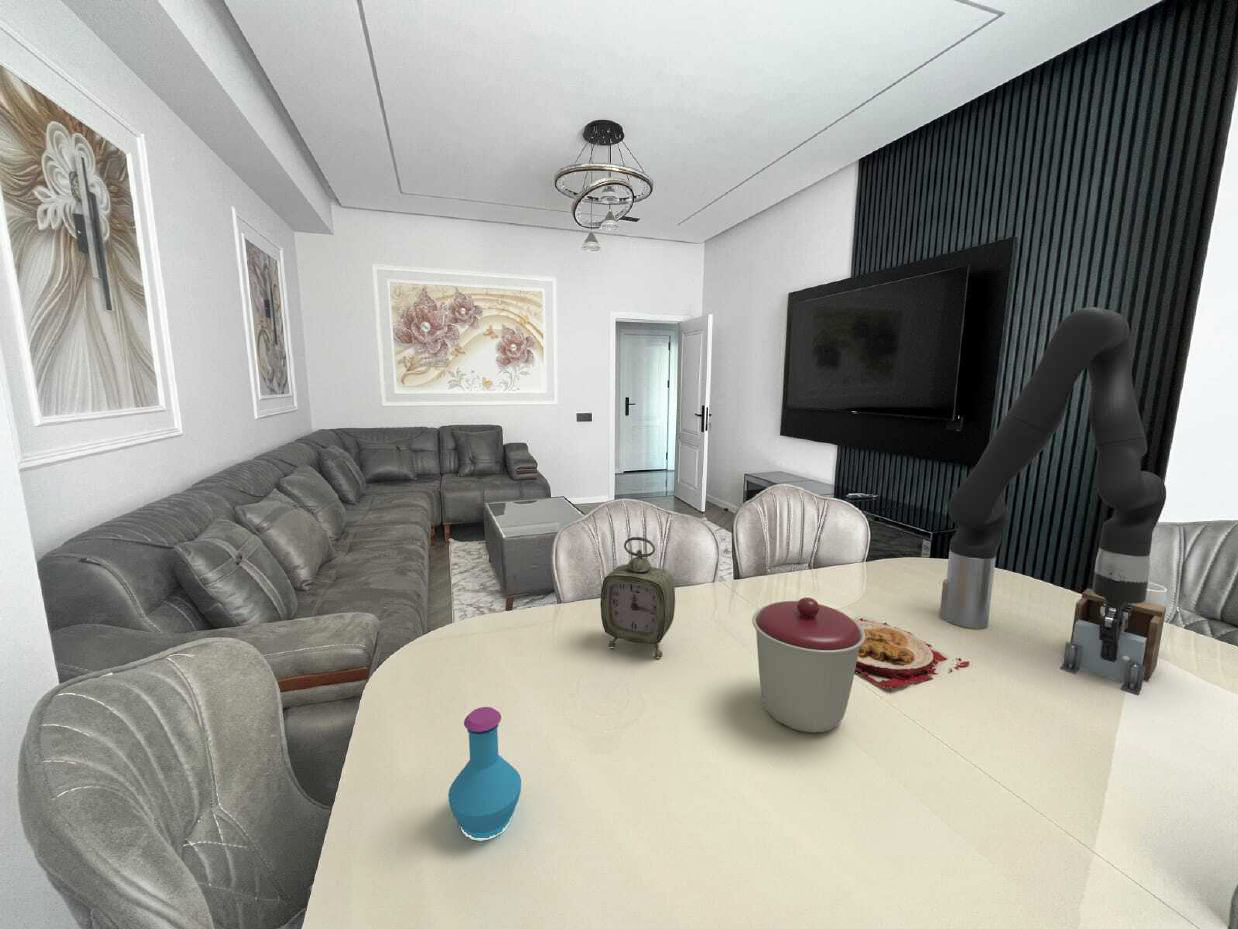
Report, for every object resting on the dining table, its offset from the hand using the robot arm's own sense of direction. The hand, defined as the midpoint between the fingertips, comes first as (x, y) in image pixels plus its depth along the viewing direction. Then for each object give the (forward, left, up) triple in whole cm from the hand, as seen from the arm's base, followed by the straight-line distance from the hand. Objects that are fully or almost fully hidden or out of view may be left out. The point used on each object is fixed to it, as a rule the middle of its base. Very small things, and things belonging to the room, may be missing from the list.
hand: (1110, 656), depth 103 cm
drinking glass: (+1, +17, -4) cm, 17 cm away
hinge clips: (-1, -3, -4) cm, 5 cm away
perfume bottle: (-42, -113, -4) cm, 120 cm away
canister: (-30, -60, -4) cm, 67 cm away
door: (-1, 0, -4) cm, 4 cm away
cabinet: (-1, +7, -4) cm, 8 cm away
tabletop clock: (-65, -68, -4) cm, 94 cm away
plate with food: (-33, -27, -5) cm, 43 cm away
